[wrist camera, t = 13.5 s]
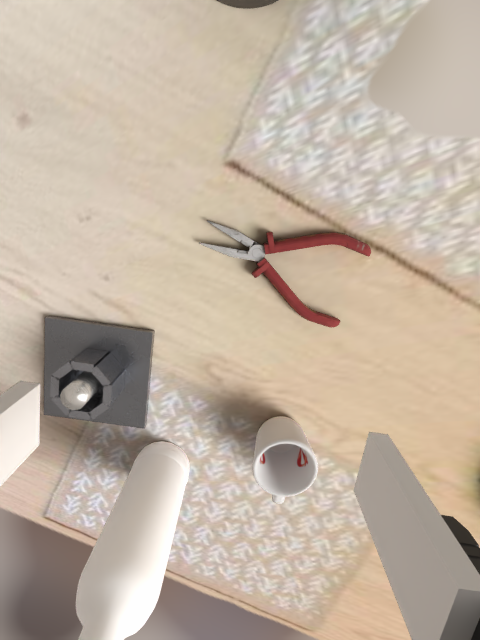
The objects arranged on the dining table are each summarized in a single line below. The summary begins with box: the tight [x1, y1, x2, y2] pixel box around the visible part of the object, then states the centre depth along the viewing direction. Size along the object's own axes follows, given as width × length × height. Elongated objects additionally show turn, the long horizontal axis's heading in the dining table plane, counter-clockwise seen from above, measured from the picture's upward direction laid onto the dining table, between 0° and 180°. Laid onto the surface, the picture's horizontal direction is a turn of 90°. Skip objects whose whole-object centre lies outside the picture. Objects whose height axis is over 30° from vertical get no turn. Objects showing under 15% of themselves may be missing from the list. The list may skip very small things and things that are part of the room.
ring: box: [50, 348, 125, 420], centre depth 48 cm, size 7×7×5 cm
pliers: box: [199, 220, 371, 327], centre depth 47 cm, size 12×20×3 cm, turn 70°
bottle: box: [76, 441, 190, 640], centre depth 40 cm, size 8×8×30 cm
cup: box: [252, 416, 318, 504], centre depth 50 cm, size 11×8×8 cm
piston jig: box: [44, 316, 154, 428], centre depth 48 cm, size 14×14×8 cm
